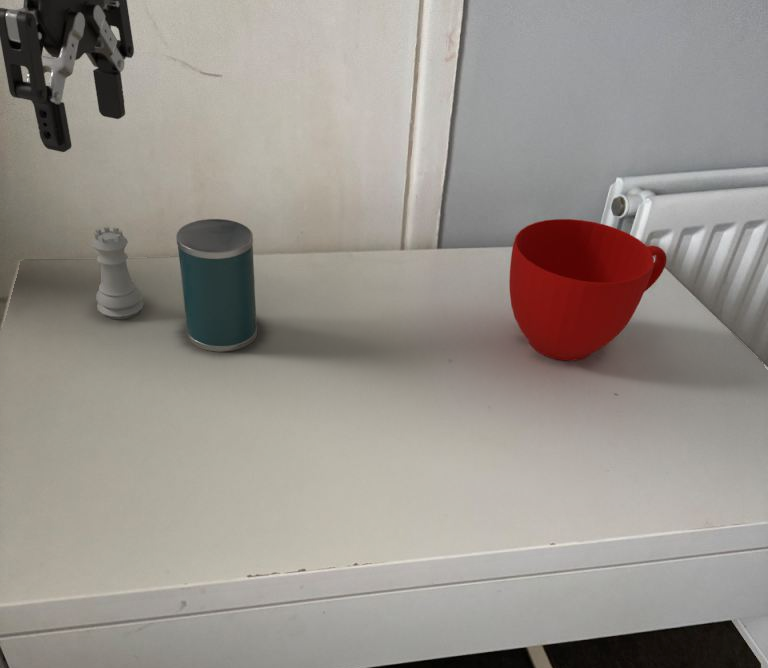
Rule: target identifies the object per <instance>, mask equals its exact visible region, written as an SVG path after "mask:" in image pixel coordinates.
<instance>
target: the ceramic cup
mask: <svg viewBox="0 0 768 668" xmlns="http://www.w3.org/2000/svg"><path fill="white" fill-rule="evenodd" d="M654 256H655V257H654ZM666 265H667V253H666V252H665V251H664V249H662V248H661V247H660V246H657V245H646V244H645V243H644V242H642V241H641V240H640V239H639V238H637V237H635V236H634V235H632V234H631V233H628V232H625V231H624V230H621V229H619V228H616V227H613V226H611V225H607V224H603V223H600V222H595V221H589V220H583V219H574V218H572V219H571V218H554V219H545V220H541V221H537V222H534V223H531V224H529V225H526V226H525V227H523V228H522V229H520V230H519V231H518V232H517V234H516V235H515V237H514V240H513V244H512V250H511V256H510V265H509V279H508V280H509V281H508V282H509V285H508V286H509V287H508V288H509V298H510V304H511V310H512V313H513V316H514V319H515V321H516V323H517V325H518V327H519V329H520V332H522V334H523V335H524V337H525V338H526V340H528V344H529V345H530V346H531V348H533V349H534V350H535V352H537V353H539V354H541V355H543V356H546V357H547V358H550V359H554V360H559V361H579V360H583V359H586V358H588V357H589V356H591V355H592V354H594V353H595V352H597V351H599V350H601V349H603V348H604V347H606V346H607V345H608V344H610V343H611V342H612V341H613V340H614V339H616V338H617V336H619V335H620V333H622V332H623V330H624V329H625V328H626V327H627V326H628V324H629V322H630V321H631V320H632V318H633V317H634V314H635V312H636V310H637V308H638V306H639V304H640V302H641V301H642V298H643V297H644V293H645V292H646V291H648V290H649V289H650V288H652V286H653V285H654V284H655V283H656V282H657V281H658V279H660V277H661V275H662V274H663V272H664V270H665V268H666Z"/></svg>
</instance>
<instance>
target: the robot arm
mask: <svg viewBox="0 0 768 668" xmlns="http://www.w3.org/2000/svg"><path fill="white" fill-rule="evenodd" d="M129 13H130V12H129V7H128V0H23V7H22V8H18V9H13V8H5V7H0V45H1V51H2V56H3V62H4V67H5V73H6V74H5V75H6V79H7V80H6V81H7V85H8V90H9V94H10V96H12V97H13V98H14V99H15V98H16V99H22V100H28V101H30V102H32V105H33V107H34V108H33V109H34V112H35V113H34V114H35V118H36V123H37V126H38V127H37V128H38V130H39V132H38V133H39V137H40V140H41V142H42V144H43V146H44V147H45V148H46V149H48V150H50V151H51V150H52V151H55V152H60V153H66V152H67V151H68V150H70V149H72V145H73V144H72V139H71V134H70V128H69V122H68V117H67V111H66V106H65V105H66V104H65V102H63V101H62V100H63V96H64V95H63V94H64V89H65V84H66V79H67V78H68V77H70V76H71V75H72V74H73V73H74V67H75V64H76V61H77V60H79V59H81V57H83V55H84V54H85V55H86V57H87V58H88V59H89V61H90V63H91V64H92V65H93V67H95V69H93V70H92V73H93V74H92V75H93V80H94V87H95V93H96V99H97V100H96V101H97V107H98V112H99V113H100V115H101V116H103V117H105V118H111V119H115V120H119V119H121V118H123V117H124V116H125V115H126V107H125V98H124V97H125V96H124V90H123V81H122V73H121V72H123V71H124V69H125V60H126V58H128V59H131V58H133V56H134V53H135V48H134V41H133V40H134V39H133V34H132V27H131V26H132V25H131V19H130V14H129ZM112 27H114V28H115V27H116V28H117V30H118V35H119V39H117V37H116V36H115V33H114V32H113V30H112ZM43 50H45V51H46V52H47V53H48V54H49V55H50V56H46V55H44V56H43V52H44V51H43ZM22 67H24V68H26V69H27V71H28V72H27V75H26V76H27V77H26V81H24V77H23V71H22ZM46 73H50V78H49V83H48V85H47V84H46V75H45V74H46Z"/></svg>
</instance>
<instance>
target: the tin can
mask: <svg viewBox="0 0 768 668" xmlns="http://www.w3.org/2000/svg"><path fill="white" fill-rule="evenodd" d="M175 236H176V244H177V250H178V259H179V268H180V277H181V285H182V294H183V303H184V305H183V306H184V312H185V313H184V314H185V321H186V336H187V339H188V340H189V341H190V343H191V344H193V346H195V347H197V348H198V349H199V348H200V349H202V350H205V351H209V352H221V353H222V352H232V351H237V350H241V349H244V348H245V347H247V346H249V345H251V344H252V343H253V342H254V341H255V339H256V338H257V336H258V325H257V310H256V309H257V308H256V287H255V286H256V285H255V266H254V265H255V264H254V235H253V232H252V230H251V229H250V228H249V227H248V226H246V225H245V224H243V223H241V222H238V221H235V220H231V219H223V218H205V219H198V220H195V221H192V222H189V223H187V224H185V225H183V226H181V227H180V228H179V229H178V231H177V232H176V235H175Z"/></svg>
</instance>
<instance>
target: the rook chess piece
mask: <svg viewBox="0 0 768 668" xmlns="http://www.w3.org/2000/svg"><path fill="white" fill-rule="evenodd" d="M93 236H94V238H93V240H92V241H91V246H92V247H93V248H94V250H96V251H97V252H98V256H97V257H96V259H97V260H96V261H97V262H99V265H100V284H99V286H98V291H97V292H96V297H95V299H96V302H97V305H96V307H97V311H98V312H100V313H101V314H102V315H104V317H106V318H108V319H112V320H125V319H130V318H132V317H135V316H137V315H138V314H139V313H140V312H141V311H142V309H143V307H144V305H145V304H144V301H143V299H142V297H143V295H142V293H141V290H140V288H138V286H136V283H135V282H134V281H133V279H132V277H131V275H130V272H129V267H128V264H127V260H128V254H127V253H126V252H125V248H126V246H127V245H128V243H129V241H128V239H127V237H125V235H124V234H123V231H122V230H120V228H119V227H116V226H114V227H113V228H112V230H111V231H110V226H103V231H102V229H101V228H97V229H96V230H95V232H94V233H93Z"/></svg>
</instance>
